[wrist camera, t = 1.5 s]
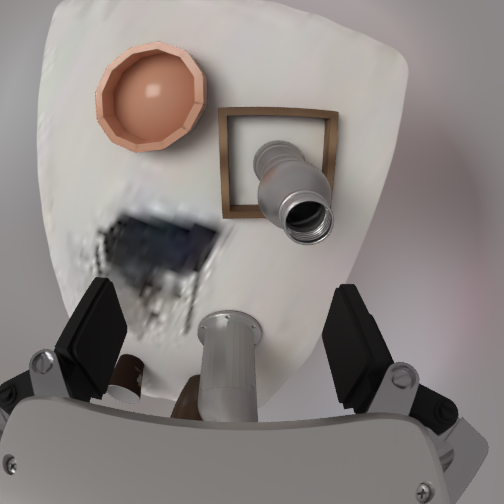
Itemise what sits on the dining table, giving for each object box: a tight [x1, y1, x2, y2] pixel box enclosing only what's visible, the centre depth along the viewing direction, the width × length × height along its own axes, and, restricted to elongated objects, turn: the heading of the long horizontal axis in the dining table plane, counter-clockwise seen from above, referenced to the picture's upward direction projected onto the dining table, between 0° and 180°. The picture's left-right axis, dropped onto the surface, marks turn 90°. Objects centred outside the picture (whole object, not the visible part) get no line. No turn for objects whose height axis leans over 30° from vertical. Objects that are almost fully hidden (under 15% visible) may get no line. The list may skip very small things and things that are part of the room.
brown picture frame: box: [218, 107, 339, 219], centre depth 35 cm, size 15×15×2 cm
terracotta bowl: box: [95, 41, 208, 153], centre depth 28 cm, size 14×14×4 cm
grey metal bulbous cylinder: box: [253, 140, 334, 245], centre depth 27 cm, size 6×7×20 cm
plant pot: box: [170, 375, 203, 421], centre depth 56 cm, size 15×15×16 cm
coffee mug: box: [107, 354, 144, 404], centre depth 55 cm, size 12×9×10 cm
